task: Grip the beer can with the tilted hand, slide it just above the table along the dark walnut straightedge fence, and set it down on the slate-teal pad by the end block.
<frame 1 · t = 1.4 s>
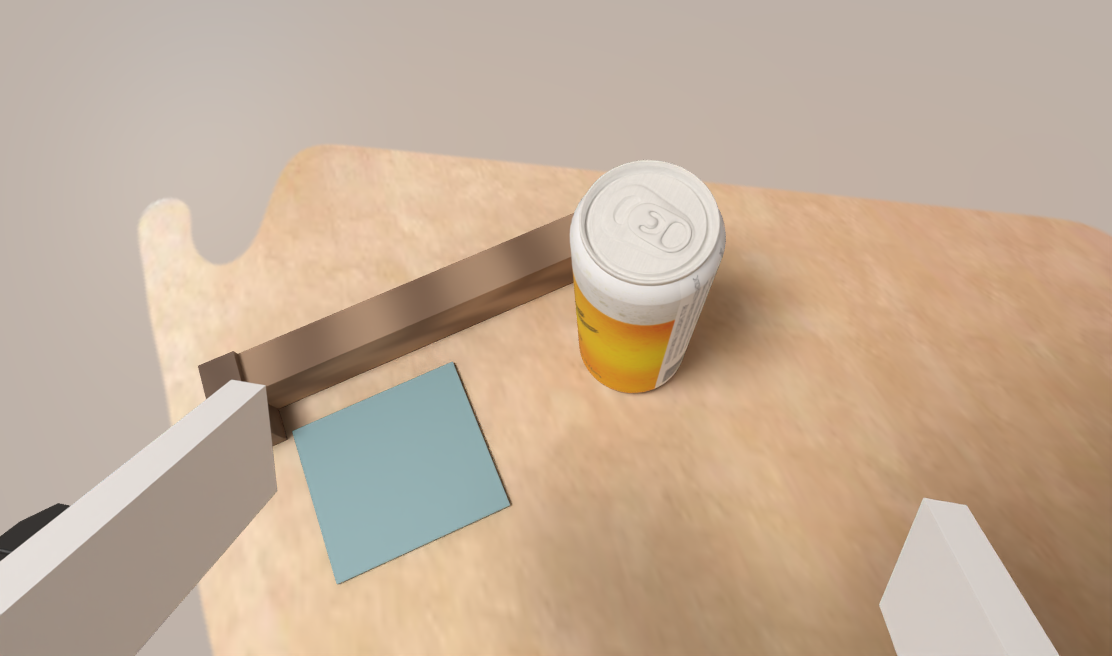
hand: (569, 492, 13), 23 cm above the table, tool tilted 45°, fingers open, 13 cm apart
beer can: (631, 347, 39), on the table
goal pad: (399, 467, 37), on the table
straightedge: (436, 320, 40), on the table
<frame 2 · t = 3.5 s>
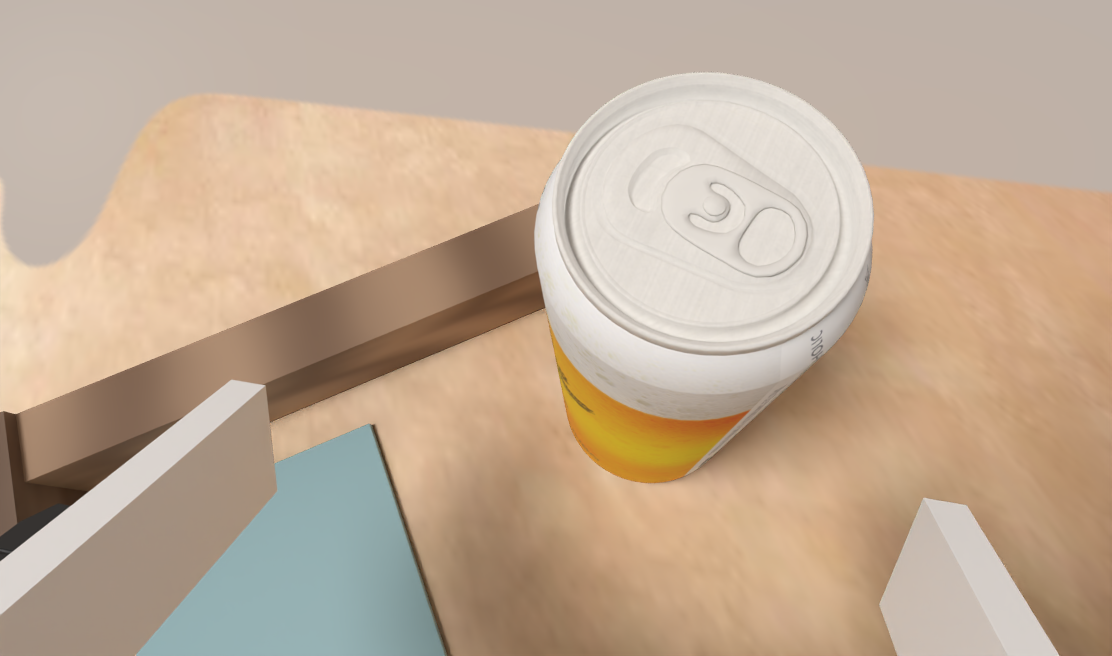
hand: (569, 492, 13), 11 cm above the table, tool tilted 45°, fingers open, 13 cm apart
beer can: (645, 405, 25), on the table
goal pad: (277, 595, 23), on the table
straightedge: (349, 357, 26), on the table
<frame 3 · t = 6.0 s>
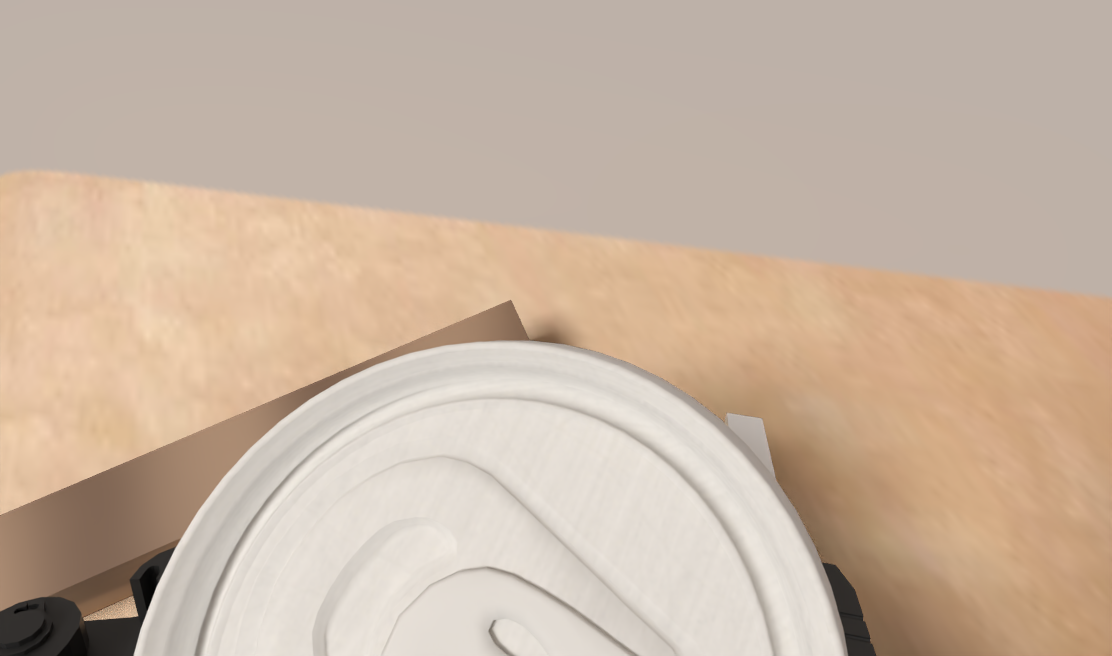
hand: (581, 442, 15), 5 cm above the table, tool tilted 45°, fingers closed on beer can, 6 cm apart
beer can: (563, 601, 19), on the table, touching gripper
straightedge: (177, 531, 20), on the table
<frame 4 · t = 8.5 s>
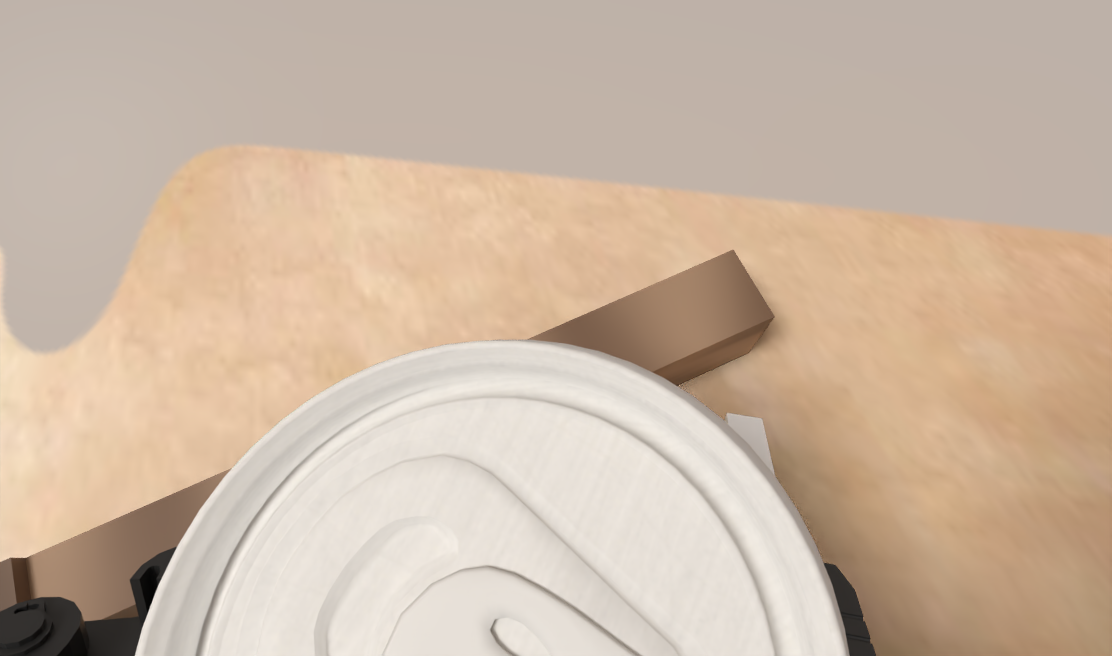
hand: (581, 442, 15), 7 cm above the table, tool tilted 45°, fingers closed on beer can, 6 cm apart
beer can: (563, 600, 19), point 2 cm above the table, touching gripper
straightedge: (418, 462, 22), on the table
when the fingers open (6 cm above the table, at t = 11.3 s): beer can stays where it is, resting on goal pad.
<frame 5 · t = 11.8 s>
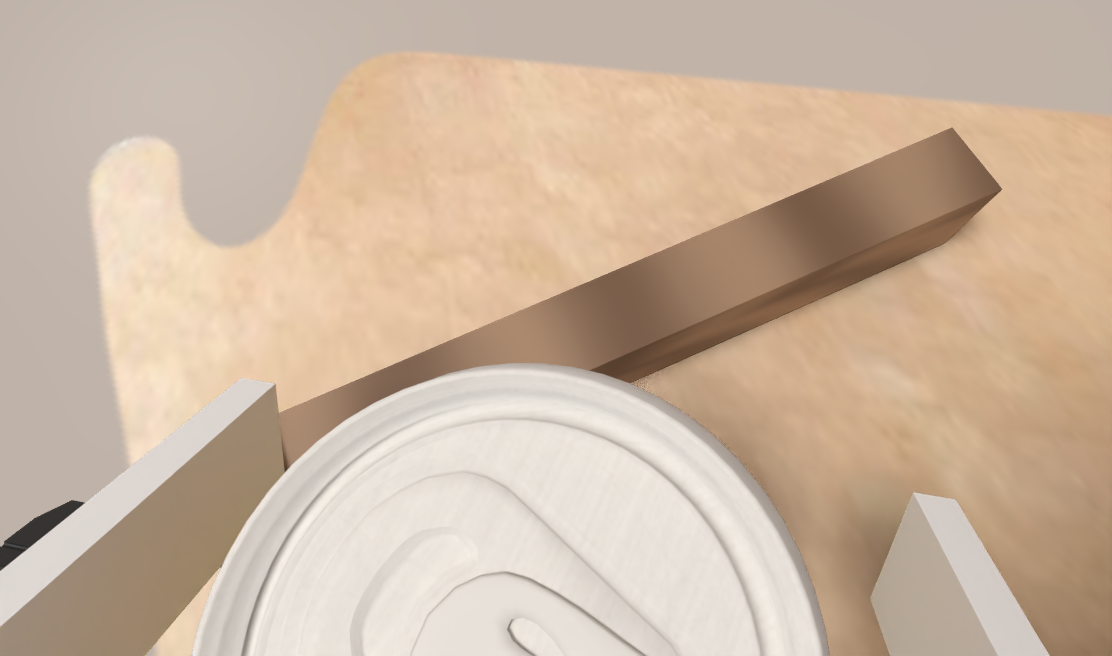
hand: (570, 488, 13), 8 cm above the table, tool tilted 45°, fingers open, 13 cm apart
beer can: (566, 601, 20), resting on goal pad
straightedge: (620, 347, 22), on the table
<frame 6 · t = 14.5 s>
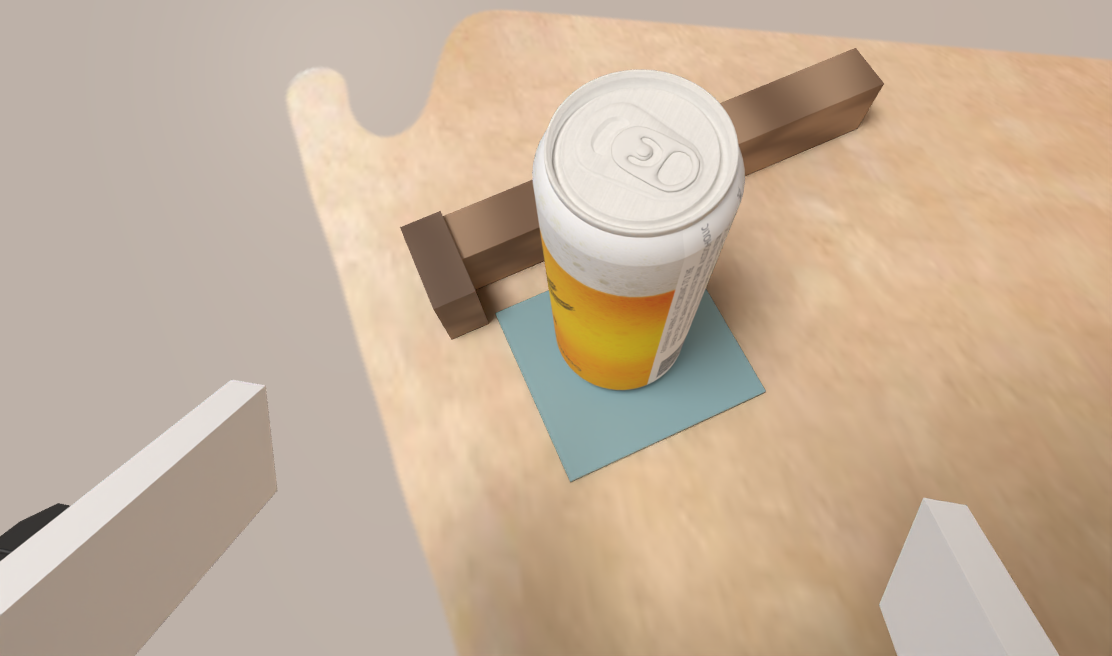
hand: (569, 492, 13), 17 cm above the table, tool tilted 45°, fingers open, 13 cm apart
beer can: (618, 335, 32), resting on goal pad
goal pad: (625, 352, 32), on the table
straightedge: (648, 193, 35), on the table
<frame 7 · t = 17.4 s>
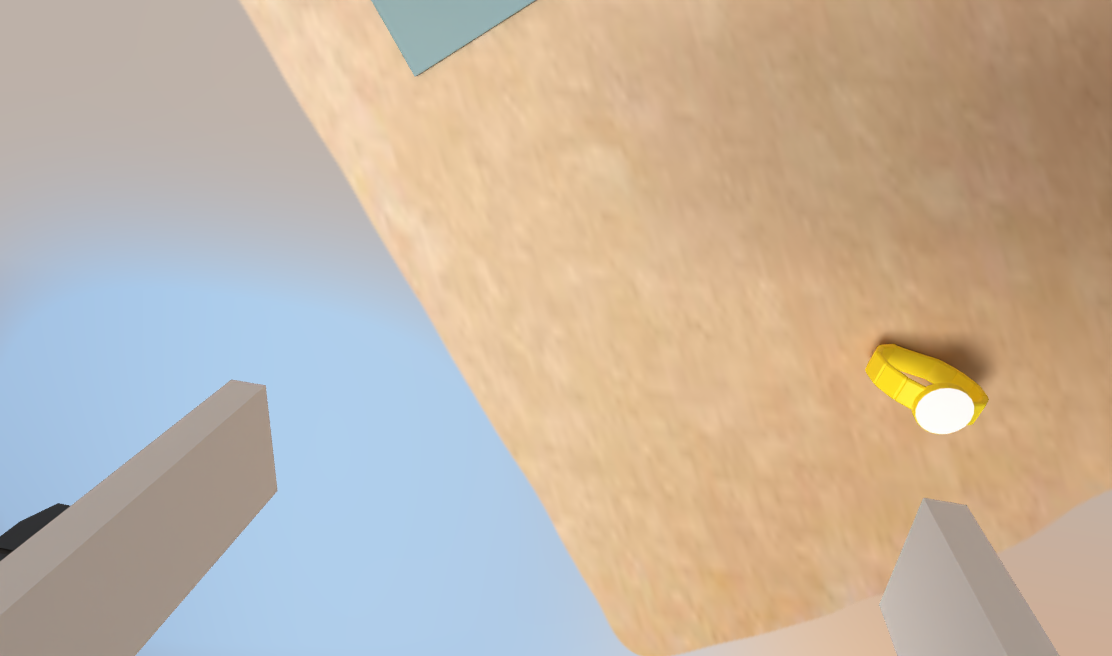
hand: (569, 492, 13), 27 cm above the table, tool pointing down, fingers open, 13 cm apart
watch: (908, 359, 39), on the table
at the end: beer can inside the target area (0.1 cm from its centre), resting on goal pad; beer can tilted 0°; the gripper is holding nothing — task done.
